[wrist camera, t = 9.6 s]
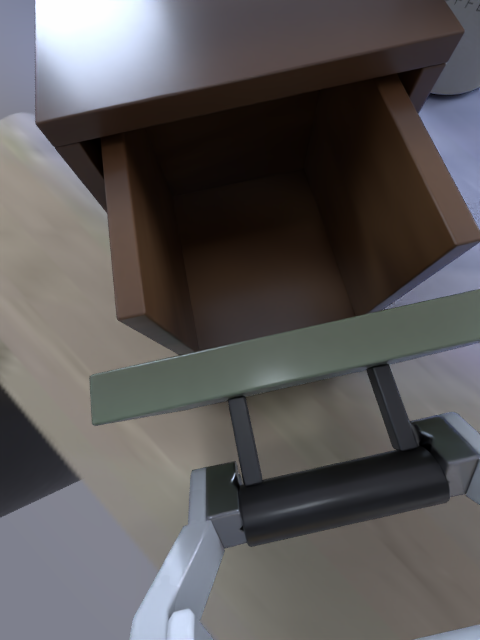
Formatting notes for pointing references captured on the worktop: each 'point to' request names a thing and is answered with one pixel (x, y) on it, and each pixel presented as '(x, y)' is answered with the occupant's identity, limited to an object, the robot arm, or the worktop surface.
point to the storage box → (216, 60)
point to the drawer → (288, 280)
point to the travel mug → (463, 52)
